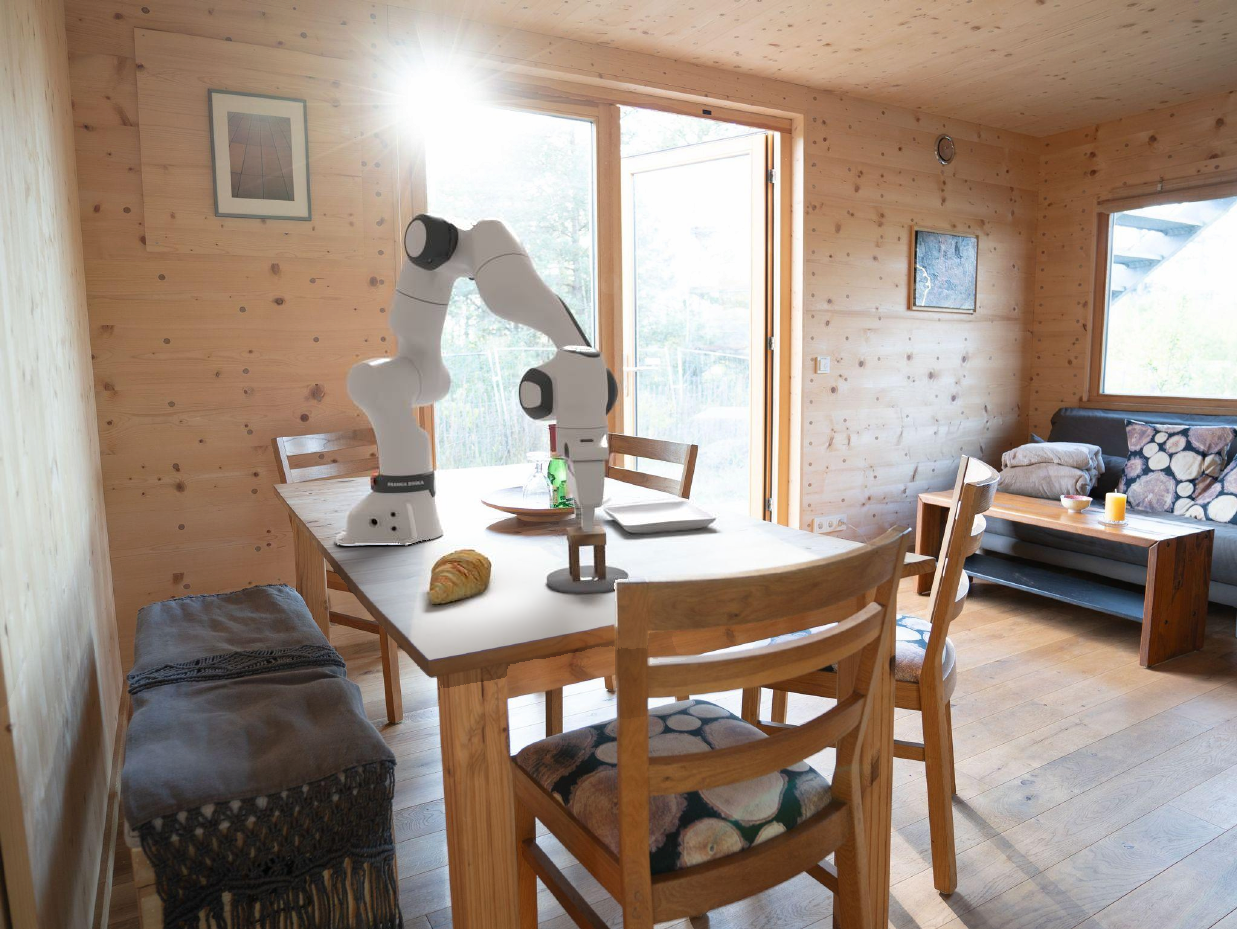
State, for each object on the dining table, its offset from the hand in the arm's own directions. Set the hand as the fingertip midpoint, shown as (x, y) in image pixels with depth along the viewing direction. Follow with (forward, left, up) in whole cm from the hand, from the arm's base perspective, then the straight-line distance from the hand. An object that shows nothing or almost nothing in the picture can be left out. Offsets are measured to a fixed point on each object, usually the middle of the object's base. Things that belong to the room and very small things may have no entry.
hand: (583, 524), depth 137 cm
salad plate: (+22, +42, -11) cm, 49 cm away
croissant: (-21, +1, -11) cm, 24 cm away
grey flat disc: (0, 0, -10) cm, 10 cm away
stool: (0, 0, -9) cm, 9 cm away
